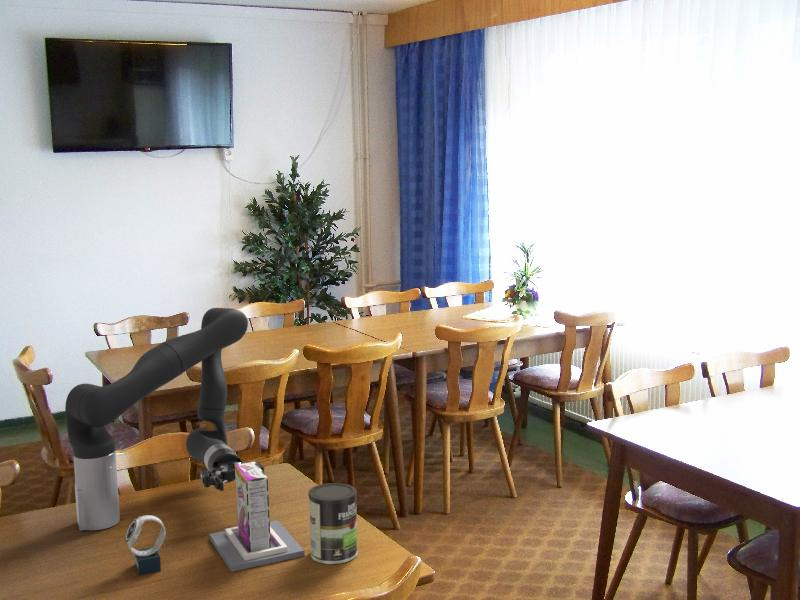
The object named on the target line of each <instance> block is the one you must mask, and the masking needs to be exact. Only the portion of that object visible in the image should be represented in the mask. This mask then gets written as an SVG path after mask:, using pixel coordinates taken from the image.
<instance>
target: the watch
mask: <svg viewBox="0 0 800 600" xmlns="http://www.w3.org/2000/svg"><path fill="white" fill-rule="evenodd" d="M150 521H152V522H153V521H154V522H156V523H158V524H160V525H161V527H160V531H159V534H158V537H157V538H156V541H155V542H154V546H150V547H145V548H140V549H136V548H134V547H133V544H135V542H136V541H137V540H138V538H139V537H140V534H141V531H142V528H143V525H144V524H145V522H150ZM166 535H167V532H166V527H165V525H164V523H163V521H162V520H161V519H160V518H159V517H157V516H155V515H148V514H146V515H142V516H141V515H140V516H138V517H137V518H134V519H133V520H132V521H131V522H130V524H129V526H128V528H127V530H126V533H125V537H124V539H125V540H124V541H125V543H127V546H128V549H129V550H130V551H131V553H132V554H133V555H134V566H135V568H136V571H137V573H138V575H139V576H143V575H149V574H154V573H158V572H161V571H162V570H161V567H162V565H161V555H160V554H159V551H160V548H161V547H162V545H163V543H164V541H165V539H166V537H167V536H166Z"/></svg>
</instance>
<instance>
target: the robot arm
mask: <svg viewBox="0 0 800 600" xmlns="http://www.w3.org/2000/svg"><path fill="white" fill-rule="evenodd" d="M248 327H249V321H248V318H247V316H246V314H245V313H244V312H243V311H241V310H239V309H236V308H229V307H212V308H209V309H208V310H207V311H206V312H204V314H203V316H202V319H201V325H200V329H198V330H196V331H193V332H189V333H185V334H183V335H182V334H181V335H179V336H175V337H172V338H169V339H166V340H165V341H163V342H161V343H159V344H158V345H156V346H154V347H152V348H151V349H149V350H147V351H146V352H144V353H143V355H141V356H140V357H139V358H138V360H137V362H136V363H135V364H134V366H132V367H133V368H132V369H131V371H129V372H128V373H127V374H126V375H124V376H123V377H121V378H119V379H118V380H116V381H113V382H112V383H110V384H107V385H104V386H101V385H97V384H94V383H93V384H92V383H80V384H77V385H76V386H73V388H71V390H70V391H69V392H68V394H67V397H66V398H65V399H66V400H65V409H64V411H65V421H66V430H67V437H68V442H69V444H70V446H71V448H72V453H73V454H72V455H73V468H74V469H73V470H74V494H75V507H76V508H75V510H76V521H77V525H78V530H79V531H80V532H81V531H100V530H105V529H108V528H109V529H110V528H112V527H114V526H116V525H117V524H119V523H120V521H121V520H120V517H121V516H120V513H121V512H120V503H119V502H120V501H119V487H118V485H119V484H118V483H119V482H118V472H117V471H118V470H117V467H118V466H117V454H116V453H117V452H116V442H115V438H114V437H113V436H112V435H111V434H110V433H109V432H108V430H107V428H106V426H107V425H110V424H111V423H112V422H114V421H115V420H116V419H118V418H119V417H121V416H122V415H124V413H125V412H127V411H128V410H129V409H131V408H132V407H133V406H134V405H135V404H137V403H138V402H139V401H141V400H142V399H144V398H146V397H147V396H149V395H150V394H153V393H154V392H155V391H157V390H158V389H160V388H161V387H163V386H165V385H167V384H168V383H170V382H171V381H173V380H175V379H176V378H178V377H179V376H181V375H183V374H184V373H185V372H187V371H188V370H190V369H191V368H193V367H195V366H196V365H197V364H199V363H201V382H200V391H199V398H198V408H197V418H198V420H200V421H204V422H207V423H210V424H211V425H212V426H213V430H208V429H206V430H205V429H195V430H193V431H191V432H189V433H188V435H187V437H186V440H185V448H186V449H185V450H186V452H187V454H188V455H189V456H190V457H191V458H192V459H193V460H196V461H199V462H201V463H204V465H205V467H206V469H205V468H202V469H200V481H201V483H202V485H203V486H204V488H206V489H207V488H210V486H212V487H214V488H215V490H218V491H220V492H224V488H225V487H224V486H225V485H224V484H228V483H231V482H234V481H236V480H235V465H236V464H242V463H243V460H242V459H241V458H240V456H239V455H238V454H237V453H236V452H235V451H234V450H233V449H232V448H231V447H230V446H229V445H228V438H227V437H228V436H227V432H226V424H225V423H226V420H225V418H226V417H225V413H226V405H227V398H228V386H227V385H228V383H227V379H226V376H225V372H224V368H223V362H222V353H223V351H222V350H223V349H225V348H228V347H230V346H232V345H234V344H235V343H238V342H239V341H240V340H241V339H242V338H243V337H244V336H245V334H246V333H247V331H248ZM252 462H256V463H257V465H258V466H259V467H260V468H261V470H262V471H263V472H264V473H265V467H264V466H263V465H262V464H261V463H260V462H258V461H257V460H253V461H252Z"/></svg>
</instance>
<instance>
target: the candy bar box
mask: <svg viewBox="0 0 800 600" xmlns="http://www.w3.org/2000/svg"><path fill="white" fill-rule="evenodd" d="M234 481H235V496H236V497H235V498H236V509H237V510H236V512H237V513H236V514H237V526H238V534H239V535H240V537H241V538H242V540H243V542H244V543H245V545H246V547H247V548H248V550H249V552H250V553H251V552H256V551H260V550H265V549H270V548H271V540H270V522H271V520H270V501H269V500H270V497H269V478H268V476H267V475H266V473H265V471H264V472H263V471H262V470H261V468H260V467H259V466H258V465H257V463H256V462H253V461H249V462H242V464H236V465H235V480H234Z"/></svg>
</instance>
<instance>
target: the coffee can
mask: <svg viewBox="0 0 800 600" xmlns="http://www.w3.org/2000/svg"><path fill="white" fill-rule="evenodd" d="M307 493H308V506H309V507H308V509H309V539H310V540H309V541H310V554H309V555H310V558H311V559H312V560H313V561H315V562H317V563H319V564H325V565H341V564H344V563H345V564H346V563H347V562H350V561H352V560H354V559H355V558H356V557H357V556H358V553H359V551H358V522H357V521H358V519H357V518H358V517H357V516H358V513H357V512H358V511H357V510H358V509H357V493H358V490H357V488H356V487H354V485H351V484H349V483H348V484H346V483H341V482H340V483H339V482H330V483H328V482H327V483H322V484H319V485H315V486H313V487H312V488H310V489H309V490H308V492H307Z"/></svg>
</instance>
